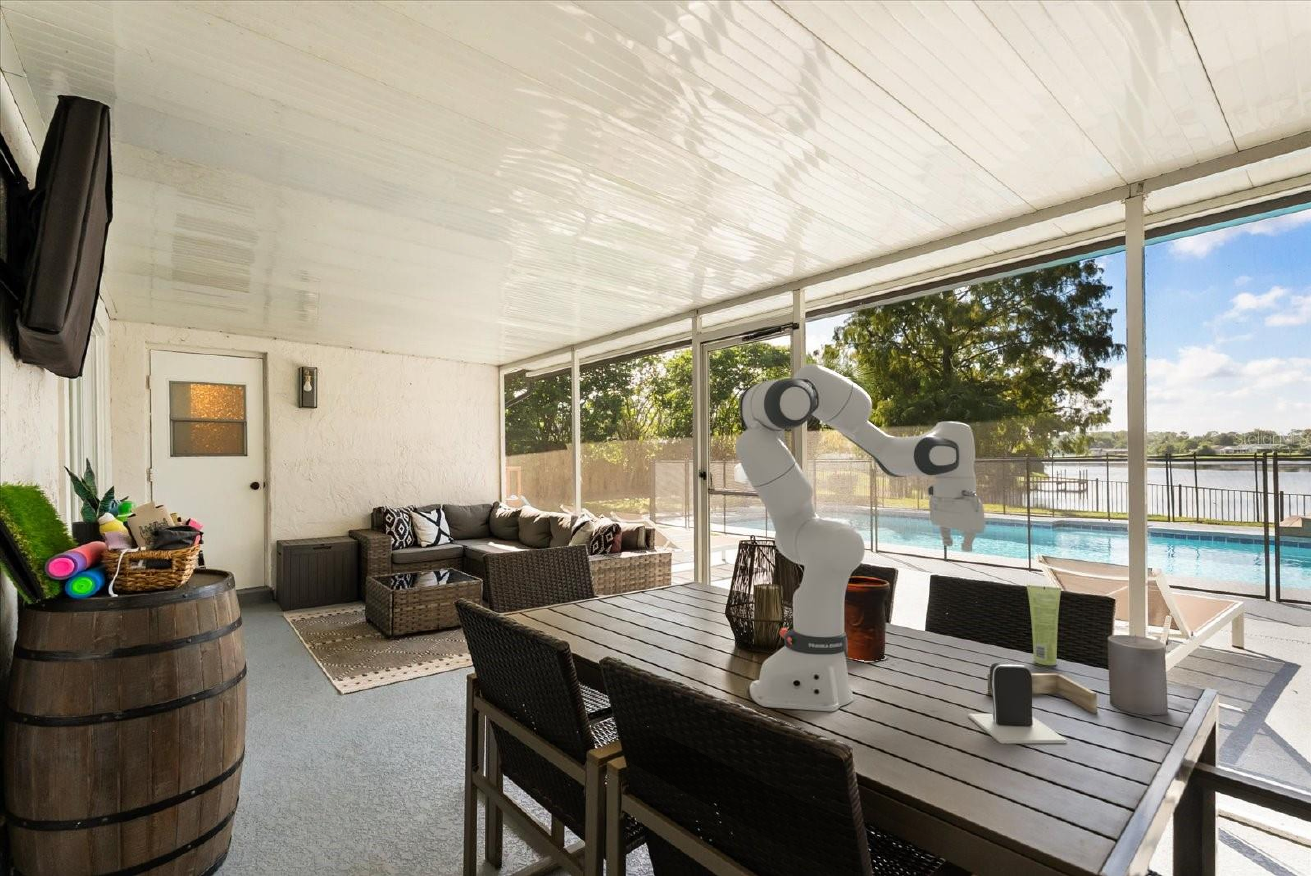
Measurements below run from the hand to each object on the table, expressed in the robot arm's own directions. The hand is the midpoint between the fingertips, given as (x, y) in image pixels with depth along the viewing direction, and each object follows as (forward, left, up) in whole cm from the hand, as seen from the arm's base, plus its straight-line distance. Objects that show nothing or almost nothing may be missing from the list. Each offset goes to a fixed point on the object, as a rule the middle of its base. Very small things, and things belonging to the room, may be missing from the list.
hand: (957, 548), depth 147 cm
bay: (+11, -13, -31) cm, 35 cm away
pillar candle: (+30, -15, -31) cm, 46 cm away
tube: (+28, +13, -31) cm, 44 cm away
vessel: (-16, +21, -31) cm, 41 cm away
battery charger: (-2, -24, -31) cm, 39 cm away
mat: (-2, -26, -31) cm, 41 cm away
